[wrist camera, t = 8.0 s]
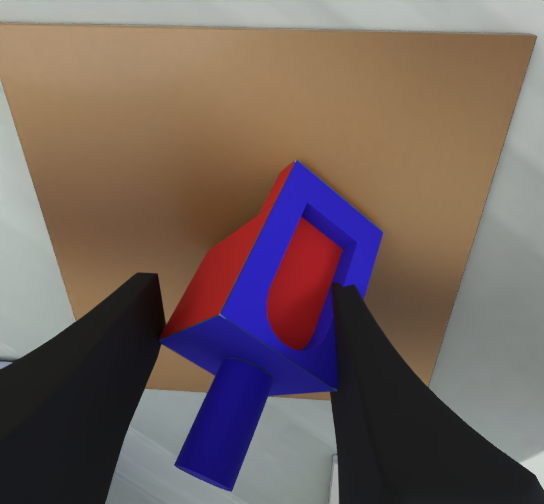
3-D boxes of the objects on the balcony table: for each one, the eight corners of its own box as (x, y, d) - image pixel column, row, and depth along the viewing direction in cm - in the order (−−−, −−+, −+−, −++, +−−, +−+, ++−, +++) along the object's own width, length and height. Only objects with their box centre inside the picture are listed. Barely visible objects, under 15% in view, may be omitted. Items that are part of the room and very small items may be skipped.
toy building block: (229, 213, 16) (103, 435, 11) (297, 157, 12) (155, 443, 8) (303, 268, 17) (214, 490, 12) (384, 231, 13) (301, 516, 9)
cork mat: (420, 398, 19) (422, 407, 18) (98, 378, 19) (95, 385, 19) (531, 33, 11) (538, 35, 11) (-9, 21, 12) (-18, 23, 11)
